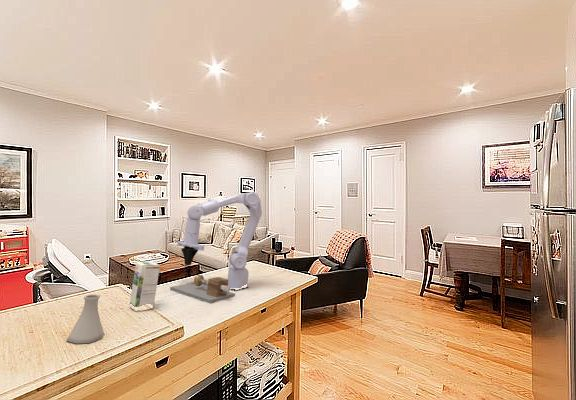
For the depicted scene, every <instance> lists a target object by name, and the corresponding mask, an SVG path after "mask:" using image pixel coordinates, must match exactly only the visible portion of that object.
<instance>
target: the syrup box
mask: <svg viewBox="0 0 576 400" xmlns="http://www.w3.org/2000/svg"><path fill="white" fill-rule="evenodd" d="M160 266H161V264H158V263H156V262H154V261H147V260H146V261H137V262H135V268H134V269H135V270H134V276H133V281H132V287H131V291H130V292H131V293H130V298H129V299H130V300H129V305H130V304H132V305H133V306H134V307H140V306H142V305H145V304H151V305H153V306H154V305H155V300H156V295H157V293H156V292H157V289H158V288H157V287H158V281H159V275H160V268H161V267H160ZM154 307H155V306H154Z"/></svg>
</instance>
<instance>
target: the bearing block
mask: <svg viewBox="0 0 576 400" xmlns="http://www.w3.org/2000/svg"><path fill="white" fill-rule="evenodd" d="M207 280H208V287H207V295H210V296H213V297H220V296H224V295H227V291H223V290H220V286H221V284H222V285H226V286H228V280H229V279H228V278H224V277H221V276H217V277H211V278H208V279H207Z"/></svg>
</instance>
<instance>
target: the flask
mask: <svg viewBox="0 0 576 400" xmlns="http://www.w3.org/2000/svg"><path fill="white" fill-rule="evenodd" d="M100 297H101V294H96V293H95V294H94V293H93V294H91V293H90V294H86V295H85V296H84V297H83V299H84V304H83V308H82V310H81V313H80V314H79V317H78V319H77V321H76V323H75V325H74V326H73V328H72V330H71V331H70V333H69V335H68V337H67V339H66V342H68V343H69V342H70V343H73V344H91V343H93V342H96V341H98V340H101V339H102V338H103V336H104V334H105V331H104V329H103V325H102V321H101V317H100V314H99V305H98V303H99V299H100Z"/></svg>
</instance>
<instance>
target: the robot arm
mask: <svg viewBox="0 0 576 400" xmlns="http://www.w3.org/2000/svg"><path fill="white" fill-rule="evenodd" d="M261 202H262V200H261V198H260V196H259V195H258V194H257V192H255V191H250V192H245V193H238V194H234V195H231V196H228V197H226V198H223V199H220V200H216V199H212V198H210V199H207V201H204V202H201V203H200V202H197V203H196V205H195V204H194V205H192V206H190V207H189V208H188V210H187V211H186V213H187V217H186V220H187V221H186V224H185V230H184V238H183V241H181V240H177V243H176V246H178V247H181V250H180V251H181V252H182V254H183V261H184V265H185V266H191V265H192V262H193V260H194V258H195V256H196V254H197V253H198V251H205V245H202V244H200V243H199V235H200V228H201V217H202V216H203V217H205V216H208V215H212V214H215V213H218V212H219V209H220V208H223V207H227V206H230V205H232V204H243V205H244V206H245V207H246V208H247V210H248V212H249V216H248V219H247V221H246V224H245V226H244V228H243V232H242V233H241V237H240V239H239V241H238V244H237V246H236V247H235V249H234V251H233V252H232V253H231V254H230V256H229V262H230V265H229V266H228V273H227V279H229V280H228V286H229V287H230V288H241V287H242V286H244V285H246V284H247V285H248V281H249V270H248V269H247V267H246V265H247V262H248V259H247V258H248V255H249V248H250V245H251V242H252V240H253V238H254V235H255V232H256V230H257V228H258V225H259V223H260V220H261V218H262V215H263V210H262V206H261Z"/></svg>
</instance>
